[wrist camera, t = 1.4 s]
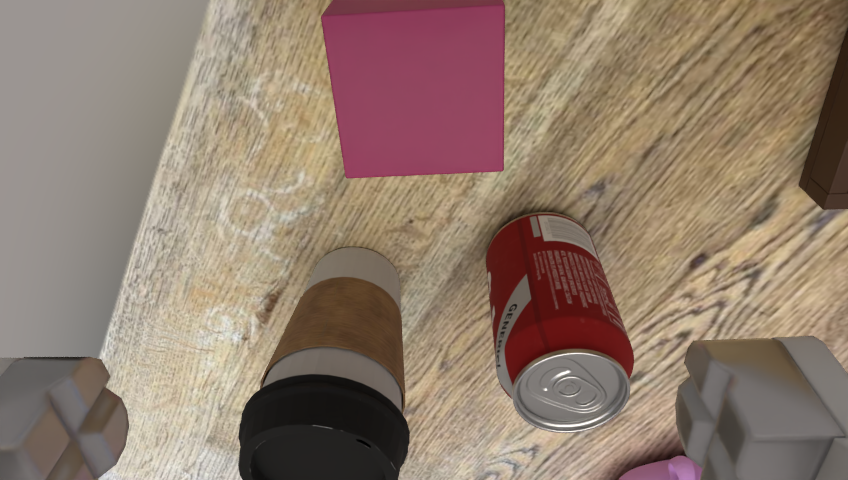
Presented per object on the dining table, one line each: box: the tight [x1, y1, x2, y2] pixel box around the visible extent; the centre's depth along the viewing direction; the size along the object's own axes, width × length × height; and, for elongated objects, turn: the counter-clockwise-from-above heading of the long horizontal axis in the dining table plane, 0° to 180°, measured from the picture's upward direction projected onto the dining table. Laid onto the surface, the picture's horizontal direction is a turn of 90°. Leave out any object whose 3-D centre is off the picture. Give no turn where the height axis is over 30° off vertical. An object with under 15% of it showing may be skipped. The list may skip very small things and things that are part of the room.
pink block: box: [321, 0, 505, 178], centre depth 20 cm, size 5×5×5 cm
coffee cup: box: [238, 247, 410, 480], centre depth 34 cm, size 8×8×15 cm
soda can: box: [486, 212, 634, 433], centre depth 33 cm, size 7×7×12 cm
